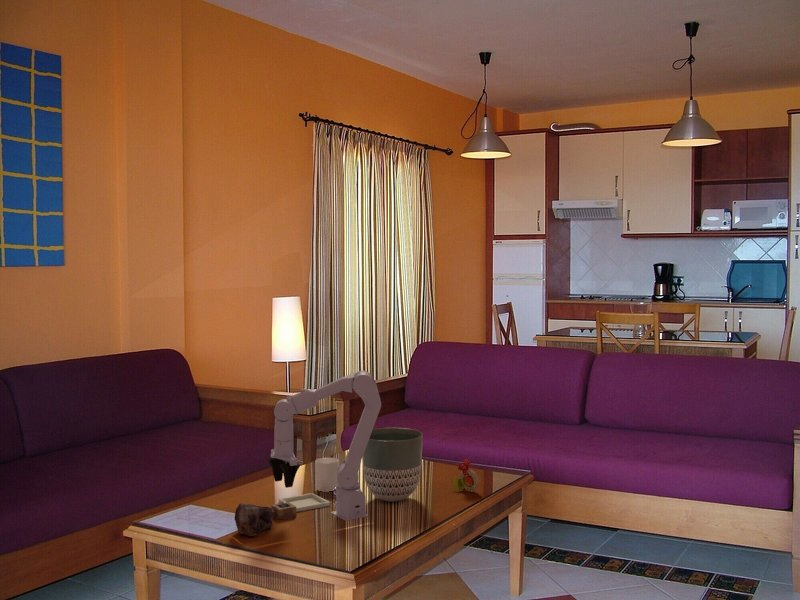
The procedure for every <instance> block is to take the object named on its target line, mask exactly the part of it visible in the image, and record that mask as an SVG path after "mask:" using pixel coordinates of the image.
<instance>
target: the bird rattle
mask: <svg viewBox="0 0 800 600" xmlns="http://www.w3.org/2000/svg"><path fill="white" fill-rule="evenodd" d="M455 465H456V466H458V467H457V469H458V471H460V475H459V478H458V477H455V478H453V480H452V483H453V487H452V488H453V490H456V489H457V492H458V493H459V492H462V490H464V489H466V490H467V491H469V492H471V493H475V492H476V489H477V488H478V486H479V481H480V480H479V477H478V475H477V474H476V472H475V471H473V470H472V469H470V467H471V465H472V462H471V461H469V458H465V459H464V460H463V462H461V463H455Z"/></svg>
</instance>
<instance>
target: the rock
mask: <svg viewBox="0 0 800 600" xmlns="http://www.w3.org/2000/svg"><path fill="white" fill-rule="evenodd" d="M273 520H274V518H273V511H272V509H271V507H268V506H259V505H254V504H250V503H238V505H237V507H236V509H235V513H234V522H235V526H236V528H237V532H238V533H239V534H241V535H245V536H247V537H250V536H255V537H257V535H258V534H259V533H262V532H263V531H266V530H267V529H270V528H272V527H273Z"/></svg>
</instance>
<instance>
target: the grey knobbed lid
mask: <svg viewBox="0 0 800 600" xmlns="http://www.w3.org/2000/svg"><path fill="white" fill-rule="evenodd" d="M284 507H286V502H283V503H281V508H284ZM292 518H293V517H290V518H285V519H284V520H287V519H292ZM276 519H278V518H276ZM278 520H279V519H278Z"/></svg>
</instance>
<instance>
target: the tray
mask: <svg viewBox="0 0 800 600" xmlns="http://www.w3.org/2000/svg"><path fill="white" fill-rule="evenodd" d="M283 502H289V503H291V504H293V505H295V506H296V513H299V512H305V511H310V510H314V509H320V508H324V507H329V506H331V502H330V501H329V500H327V499H324V498H323V497H321V496H319V495H317V494H315V493H314V492H311V493H304V494H300V495H294V496H288V497H283V498H279V499H278V504H280V503H283Z"/></svg>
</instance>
